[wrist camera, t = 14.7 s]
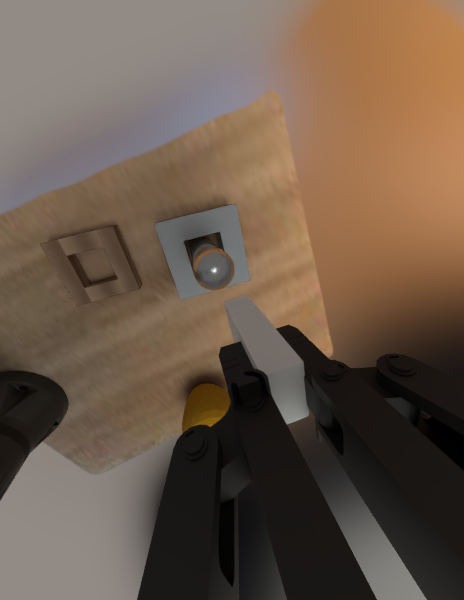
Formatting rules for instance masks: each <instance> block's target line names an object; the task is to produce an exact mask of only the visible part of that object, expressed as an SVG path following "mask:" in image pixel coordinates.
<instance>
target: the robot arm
mask: <svg viewBox="0 0 464 600" xmlns="http://www.w3.org/2000/svg"><path fill="white" fill-rule="evenodd" d="M224 305H225V309H226V312H227V316H228V320H229V324H230V328H231V331H232V335H233V339H234V341H235V343H234V344H231V345H227V346H224V347H221V349H220V353H219V358H220V362H221V365H222V369H223V373H224V376H225V380H226V383H227V387H228V394H229V397H230V400H231V401H230V406H229V409H228V411H227V412H226V414H225V415H224V416H223V417H222V418H221V419H220V420H219V421H218V422H216V423H215V424H214V425H212V426H211V427H209V426H208V425H196V426H193V427H190V428H189V429H188V430H186V431H185V432H183V434H182V435H181V436H180V437H179V439H178V440H177V442H176V444H175V447H174V449H173V454H172V457H171V461H170V466H169V470H168V474H167V478H166V482H165V486H164V490H163V495H162V499H161V503H160V507H159V511H158V515H157V519H156V524H155V528H154V532H153V536H152V541H151V544H150V548H149V553H148V557H147V561H146V565H145V569H144V574H143V577H142V582H141V586H140V591H139V594H138V598H137V600H239V572H238V571H239V570H238V569H239V568H238V496H237V494H238V493H239V492H240V491H241V490H242V489H243V488H244V487H245V486H246V485H247V484H248V483H249V482H250V481H252V480H254V484H255V488H256V491H257V495H258V498H259V502H260V505H261V509H262V512H263V516H264V519H265V523H266V526H267V530H268V533H269V537H270V541H271V544H272V547H273V551H274V555H275V558H276V562H277V566H278V569H279V573H280V576H281V579H282V583H283V587H284V590H285V594H286V597H287V600H377V599H376V597H375V595H374V593H373V591H372V590H371V587H370V585H369V583H368V582H367V580H366V578H365V576H364V574H363V572H362V570H361V568H360V566H359V564H358V562H357V561H356V558H355V556H354V554H353V552H352V550H351V549H350V547H349V545H348V543H347V541H346V539H345V537H344V535H343V533H342V531H341V529H340V527H339V525H338V523H337V521H336V519H335V517H334V516H333V514H332V512H331V510H330V508H329V506H328V504H327V502H326V500H325V498H324V496H323V494H322V492H321V490H320V488H319V486H318V484H317V482H316V481H315V479H314V477H313V475H312V473H311V471H310V469H309V467H308V465H307V463H306V461H305V459H304V458H303V455H302V454H301V452H300V449H299V448H298V446H297V444H296V442H295V440H294V438H293V436H292V434H291V432H290V430H289V428H288V426H287V424H289V423H292V422H294V421H297V420H300V419H302V418H305V417H307V416H309V411H308V407H309V408H310V410H311V411H312V413H313V414H314V416H315V423H316V435H317V439H318V441H319V442H322V437H321V435H322V436H323V438H324V439H325V441H326V443H327V444H328V446H329V447H330V449H331V451H332V452H333V453H334V455H335V457H336V458H337V460H338V461H339V463H340V464H341V466H342V467H343V469H344V471H345V472H346V474H347V476H348V477H349V479H350V480H351V482H352V483H353V485H354V486H355V488H356V490H357V491H358V493H359V494H360V496H361V497H362V499H363V500H364V502H365V504H366V505H367V507H368V508H369V510H370V511H371V513H372V515H373V516H374V518H375V519H376V521H377V522H378V524H379V525H380V527H381V529H382V530H383V531H384V533H385V535H386V536H387V538H388V539H389V541H390V543H391V544H392V546H393V547H394V549H395V550H396V552H397V554H398V555H399V557H400V558H401V560H402V561H403V563H404V564H405V566H406V568H407V569H408V571H409V572H410V574H411V575H412V577H413V578H414V580H415V581H416V583H417V585H418V586H419V588H420V589H421V591H422V592H423V594H424V596H425V597H426V599H427V600H464V381H463V380H461V379H459V378H457V377H454V376H452V375H450V374H448V373H445V372H443V371H441V370H439V369H436V368H434V367H432V366H430V365H427V364H425V363H423V362H421V361H418V360H416V359H414V358H411V357H408V356H405V355H400V354H386V355H384V356H381V357H380V358H379V359H378V360H377V363H376V367H368V368H350V367H348V366H347V365H345V364H344V363H342V362H339V361H336V360H329V359H328V358H327V357H326V356H325V355H324V354H323V353H322V352H321V351H320V350H319V349H318V348H317V347H316V346H315V345H314V344H313V343H312V342H311V341H309V339H308V338H307V337H306V336H304V334H303V333H302V332H301V331H299V330H298V329H297V328H295V327H293V326H290V325H286V326H283V327H280V328H277V329H276V328H275V327H274V326H273V325H272V324H271V323H270V321H269V320H268V319H267V318H266V317H265V315H264V314H263V313H262V312H261V311H260V309H259V308H258V307H257V306H256V305H255V304H254V302H253V301H252V300H251V299H250V298H249V296H248V295H244V296H241V297H238V298H234V299H231V300H228V301H225V302H224ZM67 409H68V400H67V397H66V395H65V393H64V392H63V390H62V389H61V388H60V387H59V386H58V385H57V384H55V383H54V382H52V381H51V380H49V379H47V378H45V377H42V376H39V375H36V374H32V373H27V372H4V373H0V500H1V499H2V497H3V496H4V494H5V492H6V491H7V489H8V487H9V486H10V484H11V483H12V481H13V479H14V478H15V476H16V475H17V473H18V471H19V470H20V468H21V467H22V465H23V463H24V462H25V460H26V458H27V457H28V455H29V454H30V453H31V452H32V451H33V450H34V449H35V448H36V447H37V446H38V445H39V444H40V443H41V442H42V441H43V440H44V439H46V438H47V437H48V436H49V435H50V434H51V433H52V432H53V431H54V430H55V429H56V428H57V427H58V426H59V424H60V423H61V421H62V419H63V418H64V416H65V414H66V412H67ZM421 410H422V411H424V412H426V413H427V414H429V415H425V414H423V413H421Z"/></svg>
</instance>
